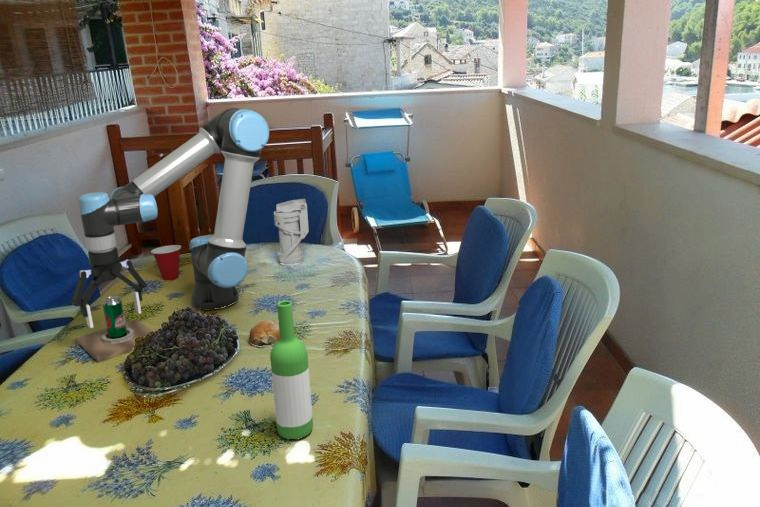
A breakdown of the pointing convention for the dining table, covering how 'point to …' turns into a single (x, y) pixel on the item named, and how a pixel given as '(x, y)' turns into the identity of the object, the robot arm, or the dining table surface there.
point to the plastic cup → (168, 261)
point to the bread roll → (265, 333)
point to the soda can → (114, 317)
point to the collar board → (112, 341)
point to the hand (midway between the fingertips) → (115, 319)
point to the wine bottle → (290, 379)
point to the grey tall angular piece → (291, 229)
